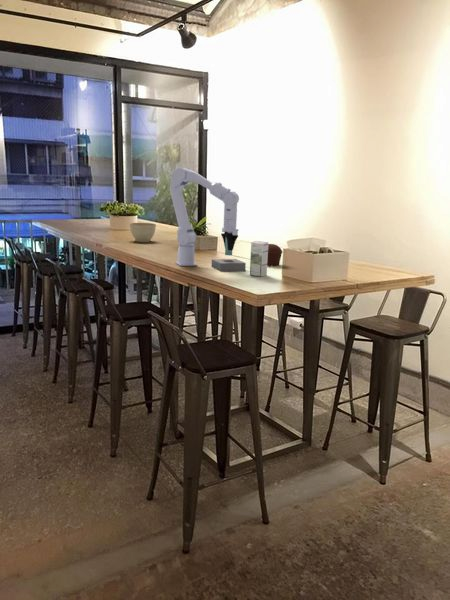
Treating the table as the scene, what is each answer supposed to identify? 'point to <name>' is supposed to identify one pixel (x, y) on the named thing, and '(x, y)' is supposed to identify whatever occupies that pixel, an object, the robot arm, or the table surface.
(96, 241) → the table surface
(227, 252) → the pin
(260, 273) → the syrup box
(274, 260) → the muffin
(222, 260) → the socket block
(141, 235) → the planter bowl
